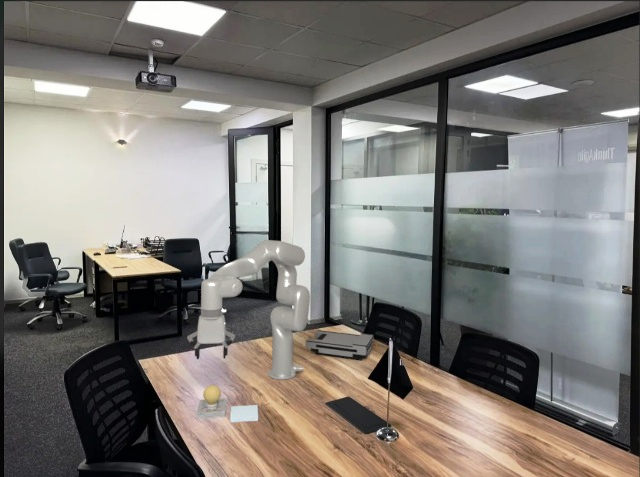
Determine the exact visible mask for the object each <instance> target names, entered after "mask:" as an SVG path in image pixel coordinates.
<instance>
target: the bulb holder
mask: <svg viewBox="0 0 640 477" xmlns="http://www.w3.org/2000/svg"><path fill="white" fill-rule="evenodd" d="M217 407H221V409H217V410H207V409H206V410H205V409H204V408H207V402H206V401H205V399H199V402H198V408H197V412H196V420H201V419H203V420H204V419H217V418H226V410H227V398H226V397H225V398H219V400H218V401H217ZM203 409H204V410H203Z"/></svg>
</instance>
